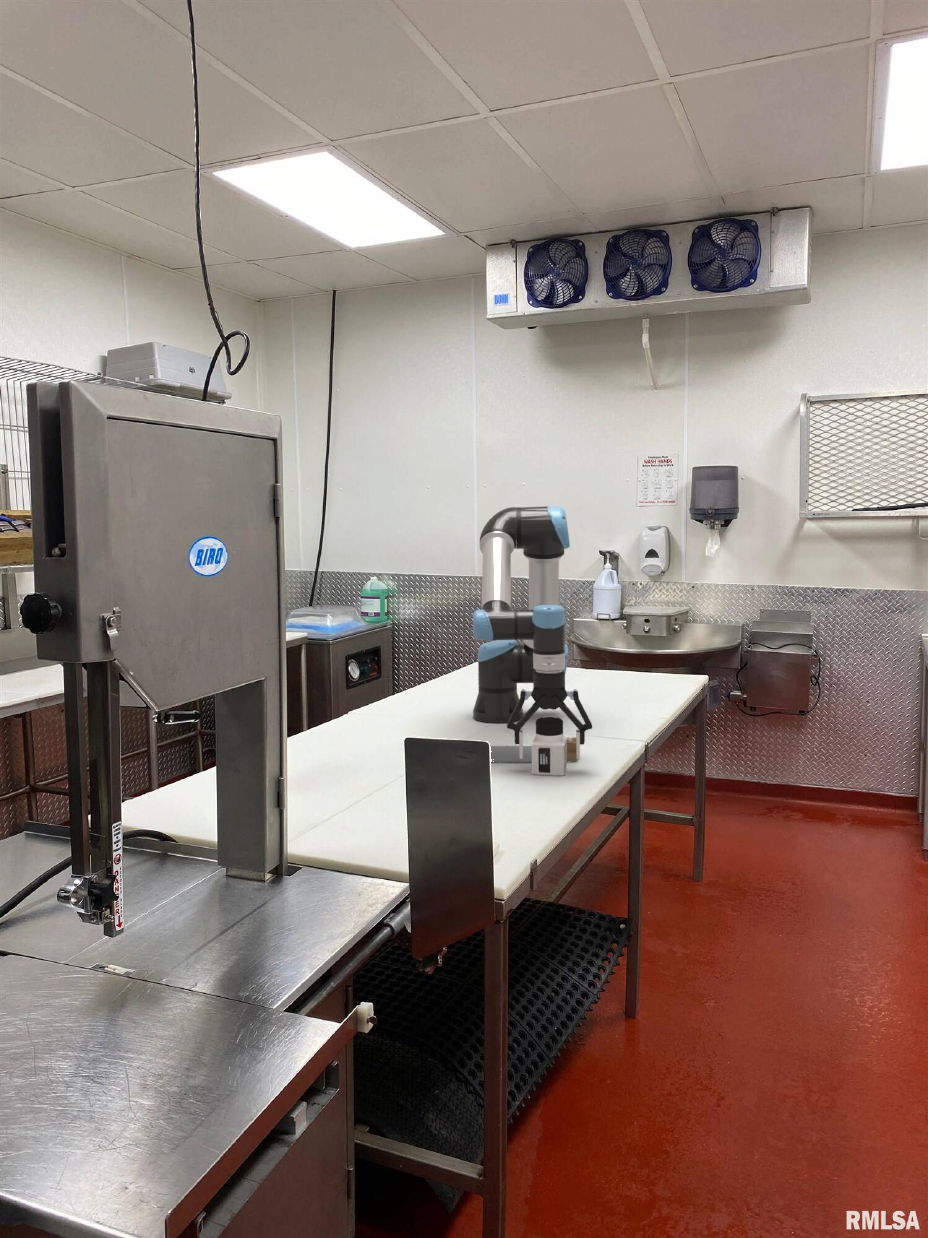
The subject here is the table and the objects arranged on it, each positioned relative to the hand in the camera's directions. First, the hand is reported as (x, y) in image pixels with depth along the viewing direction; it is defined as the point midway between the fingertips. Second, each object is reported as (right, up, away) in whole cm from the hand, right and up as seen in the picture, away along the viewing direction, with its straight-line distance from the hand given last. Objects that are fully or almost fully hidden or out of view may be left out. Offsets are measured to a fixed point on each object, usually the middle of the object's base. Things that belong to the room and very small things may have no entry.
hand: (549, 757), depth 208 cm
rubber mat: (-8, -2, +14) cm, 16 cm away
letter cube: (+5, -2, +10) cm, 12 cm away
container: (0, -4, +1) cm, 4 cm away
